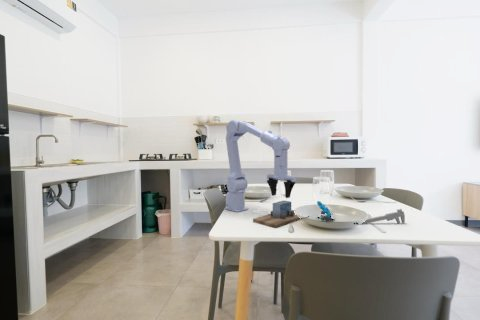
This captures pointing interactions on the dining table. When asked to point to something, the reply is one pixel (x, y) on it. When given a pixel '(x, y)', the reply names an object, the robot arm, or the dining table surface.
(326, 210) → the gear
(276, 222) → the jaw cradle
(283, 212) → the block
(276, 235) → the dining table surface
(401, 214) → the caliper
